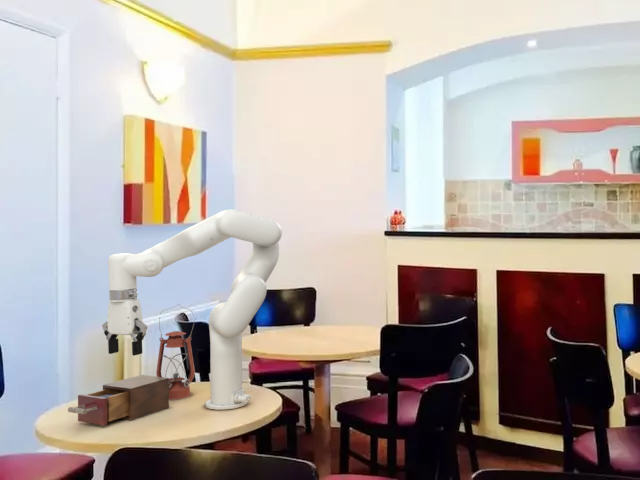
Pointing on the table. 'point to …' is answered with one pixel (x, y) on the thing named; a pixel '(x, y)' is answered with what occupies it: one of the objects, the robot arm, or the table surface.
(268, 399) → the table surface
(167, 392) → the cabinet
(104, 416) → the drawer
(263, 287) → the robot arm
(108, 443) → the table surface
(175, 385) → the lantern
